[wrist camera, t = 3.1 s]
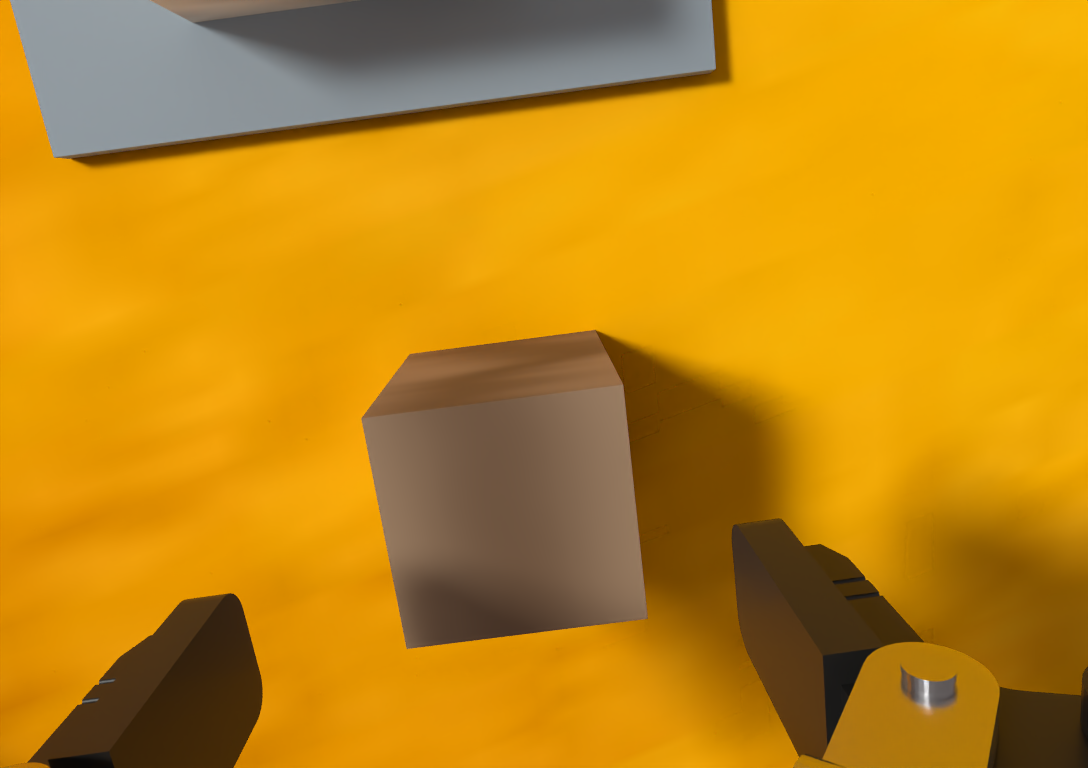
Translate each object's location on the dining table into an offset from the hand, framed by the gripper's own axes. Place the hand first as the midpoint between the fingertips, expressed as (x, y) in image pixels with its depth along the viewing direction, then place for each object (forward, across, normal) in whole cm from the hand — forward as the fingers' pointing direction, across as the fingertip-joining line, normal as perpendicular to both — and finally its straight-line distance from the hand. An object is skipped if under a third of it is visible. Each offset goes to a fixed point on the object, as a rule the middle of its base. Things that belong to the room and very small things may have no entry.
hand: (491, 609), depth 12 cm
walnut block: (+9, 0, 0) cm, 9 cm away
